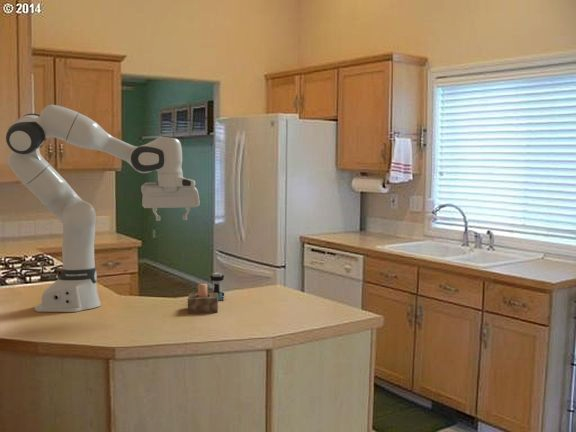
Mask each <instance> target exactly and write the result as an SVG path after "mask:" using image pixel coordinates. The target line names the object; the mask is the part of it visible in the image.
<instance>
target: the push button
mask: <svg viewBox="0 0 576 432" xmlns="http://www.w3.org/2000/svg"><path fill="white" fill-rule="evenodd" d="M211 274H212V275H209V278H210V281H212V292H211V293H218V301H222V300H223V301H224V300H226V297H227V296H226V295H225V292H223V291H222V290H223V289H222V288H223V287H222V286H223V285H222V284H223V283H222V281H224V277H225V275H224V274H223V272H212V273H211Z"/></svg>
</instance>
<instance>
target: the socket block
mask: <svg viewBox="0 0 576 432" xmlns="http://www.w3.org/2000/svg"><path fill="white" fill-rule="evenodd" d="M218 309H219V300H218V293H212V292H207V297H198V292H195V293H194V292H193V293H189V294H188V297H187V314H188V313H189V314H209V313H210V314H212V313H213V314H214V313H215V314H216V313H218Z"/></svg>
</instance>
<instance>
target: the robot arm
mask: <svg viewBox="0 0 576 432" xmlns="http://www.w3.org/2000/svg"><path fill="white" fill-rule="evenodd" d="M48 138H55V139H57V140H60V141H62V142H65V143H66V144H67V143H68V144H69V145H72V146H74V147H78V148H81V149H87V150H93V151H99V152H103V153H106V154H109V155H111V156H113V157H115V158H118V159H120V160H122V161H124V162H126V163H127V164H129V166H130V167H131V168H132V170H134V171H135V172H137V173H139V174H142V175H147V174H151V173H152V172H154V171H157V181H150V182H148V181H145V183H143V184H142V185H141V186H140V190H141V193H142V200H141V201H142V203H141V206H142V207H143V208H144V209H152V210H151V211H152V212H153V215H154V216H155V221H157V222H158V221H159V222H160V221H161V219H162V218H161V215H159V214H158V212H157V211H158V209H166V208H167V209H169V208H170V209H171V208H173V209H174V208H185V211H186V212H185V214H182V221H187V220H188V214H189V212H190V211H191V208H198V207H199V206H200V194H199V190H198V189H197V188H198V187H195V186H196V181H195V179H190V178H188V177H184V172H183V169H182V166H183V165H182V164H183V147H182V144H181V141H180V140H179V139H178V138H177V137H174V136H168V135H159V136H158V137H157V138H155V139H154V140H152V141H150V142H148V143H146V144H142V145H138V146H136V145H134V144H130V143H128V142H125V141H124V140H121V139H120V138H117V137H114V136H112V135H111V134H110V133H108V132H107V131H106V130H105V129H104V128H103V127H102V126H100V124H99V123H98V122H96V121H95V120H93V119H91V118H90V117H89V116H87V115H84V114H82V113H80V112H78V111H76V110H73V109H70V108H68V107H65V106H62V105H56V104H48V105H46V106H45V107H44V108H43V109H42V110H41V112H40V114H38V113H27V114H25V115H23V116H21V117H19V118H18V119H16V120H15V121H14V122H13V124H11V126H9V128H8V129H7V131H6V135H5V142H6V144H7V146H8V148H9V149H10V150H11V152H10V153H9V155H8V158H7V164H8V167H9V168H10V169H11V171H12V172H13V174H14V175H15V176H16V178H18V180H19V181H20V182H21V183H22V184H23V186H25V188H27V190H29V191H30V192H31V193H32V194H33V195H34V196H35V197H36V198H37V199H38V200H39V201H40V202H41V203H42V204H43V205H44V207H45V208H47V210H49V212H51V214H52V215H53V216H54V217H55V218H56V219H57V220H58V221H59V222H60V223H61V224H62V245H61V250H62V251H61V254H62V255H61V256H62V267H61V268H59V270H57V272H56V276H57V280H56V281H55V282H53V283H51V285H49V286H48V287H47V288H46V289H44V290H43V293H42V295H41V301H40V303H38V304H37V305H35V306H34V311H35V312H38V313H39V312H45V313H48V312H51V313H59V312H60V313H64V312H65V313H76V312H77V313H78V312H81V311H85V310H90V309H91V310H92V309H94V308H97V307H98V308H99V307H100V306H101V305H102V304H101V301H100V300H101V299H100V297H99V293H98V287H97V280H98V274H97V273H98V272H97V267H96V264H95V258H96V257H95V239H96V222H97V219H96V218H97V213H96V210H95V208H94V206H93V205H92V204H91V203H90V202H88V201H86V200H83V199H82V198H81V197H80V196H79V195H78V194H77V193H76V191H75V190H74V189H73V188H72V187H71V186H70V184H69V183H68V182H67V180H66V179H64V177H62V175H61V174H60V173H59V172H58V171H56V169H55V168H54V167H53V166H52V165H51V164H50V163H49V162H48V161H47V160H46V159H45V158H44V157H43V156H42V154H41V151H40V149H41V148H42V147H43V145H44V144H45V142H46V140H47V139H48Z"/></svg>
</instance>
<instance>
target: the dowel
mask: <svg viewBox="0 0 576 432" xmlns="http://www.w3.org/2000/svg"><path fill="white" fill-rule="evenodd" d="M197 293H198V297H207V293H208V283H198V284H197Z"/></svg>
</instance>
